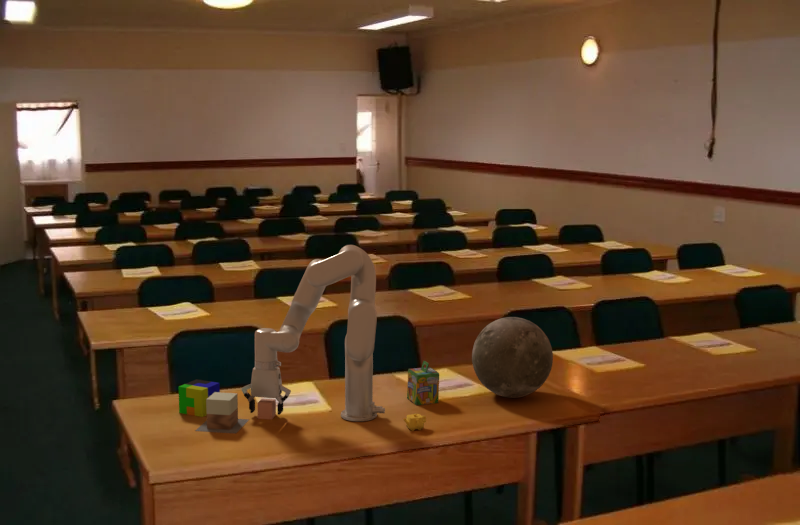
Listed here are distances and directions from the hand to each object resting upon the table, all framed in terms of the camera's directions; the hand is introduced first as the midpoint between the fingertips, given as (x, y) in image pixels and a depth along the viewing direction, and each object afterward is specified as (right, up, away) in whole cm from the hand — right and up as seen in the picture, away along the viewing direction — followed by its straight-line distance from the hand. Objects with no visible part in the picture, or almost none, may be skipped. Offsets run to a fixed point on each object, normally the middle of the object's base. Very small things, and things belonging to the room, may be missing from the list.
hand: (266, 412), depth 305 cm
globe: (+88, +1, +28) cm, 92 cm away
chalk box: (+55, +1, +21) cm, 58 cm away
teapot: (+51, -4, -10) cm, 52 cm away
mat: (-13, -3, -9) cm, 16 cm away
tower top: (-13, +2, -10) cm, 17 cm away
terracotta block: (0, -2, 0) cm, 2 cm away
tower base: (-13, -3, -9) cm, 16 cm away
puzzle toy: (-24, -1, +6) cm, 25 cm away
